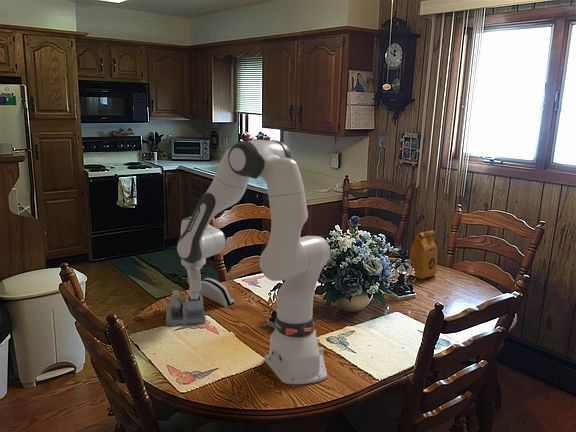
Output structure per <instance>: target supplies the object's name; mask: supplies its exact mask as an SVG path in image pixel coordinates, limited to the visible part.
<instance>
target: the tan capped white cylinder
mask: <svg viewBox="0 0 576 432" xmlns="http://www.w3.org/2000/svg"><path fill="white" fill-rule="evenodd" d="M186 280H187V284H188V285H190V284H189V276H188V275H187V279H186ZM198 295H199V291H198V292H197V297H196V298H193V297H192V292H191V290H190V289H189V296H190V301H196V300H199V296H198Z"/></svg>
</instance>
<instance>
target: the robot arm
mask: <svg viewBox="0 0 576 432" xmlns="http://www.w3.org/2000/svg"><path fill="white" fill-rule="evenodd" d="M301 174H302V173H301V171H300V168H299V166H298V163H297V162H296V161H295V160H294V159H292V154H291V151H290V148H289V147H288V145H286V143H285V142H282V141H279V140H268V139H267V140H266V139H265V140H264V139H253V140H243V141H239V142H237V143H235V144H233V145H232V146H231V147H229V148H228V149H226V151H225V153H224V154H223V156H222V158H221V160H220V162H219V164H218V166H217V169H216V171H215V175H214V176H213V177H214V178H213V179H212V182H211V183H210V185H209V187H208V189H206V192H204V194H203V195H202V196H201V198H199V201H198V203H197V204H196V207H195V209H194V211H193V213H192V215H190V216H188V217H184V218H183V219H182V221H181V225H180V236H179V238H178V240H177V242H176V253H177V255H178V256H179V258H180V261H181V266H183V267H184V268H185V270H186V271H187V276H189V284H188V285H189V291H190V290H191V292H192V297H193V298H196V297H197V292H198V293H199V292H201V281H202V279H201V275H202V274H201V269H203V266H204V265H206V263H207V262H206V261H207V258H210V257H212V256H216V255H218V254H221V253H223V252H224V250H225V249H226V246H227V239H226V235H225V233H224V232H223V231H222V230H221V229H220V228H217V227H215V226H213V225H211V224H210V222H211V221H212V219H213V218H214V217H215V216H217V215H218V214H219V213H221V212H222V211H224V210H226V209H228V208H230V207H232V206H234V205H235V204H237V203H238V202H240V200H242V197H243V196H244V194H245V192H246V190H247V187H248V183H249V181H250V180H251V179H254V180H257V179H258V178H259V177H260V178H262V179H263V180H264V182H265V184H266V188H267V189H266V190H267V196H268V202H269V209H270V220H271V221H270V222H271V227H270V235H269V239H268V242H267V244H266V247H265V248H264V250H263V251H262V252H261V255H260V256H259V257H260V258H259V267H260V270H261V273H262V275H263V276H264V277H266V279H267V280H270V281H273V282H276V281H277V282H279V281H284V282H283V284H282V285H281V286H280V288H279V290H278V292H277V295H276V303H277V304H276V315H275V318H274V323H275V324H274V327H275V329H274V331H273V332H272V333H271V334H270V339H269V340H270V341H269V353H268V354H266V355H265V356H264V359H263V360H264V362H265V363H266V365H267V366H268V367H269V368H270V369H271V371H273V372H274V374H275V375H276V376H277V378H278V379H279V380H280V381H281V382H282V383H284V384H287V385H306V384H307V385H308V384H314V383H319V382H321V381H324V380H325V379H327V378H328V372H327V368H326V365H325V364H326V363H325V359H324V353H325V350H324V347H321V346H319V343H320V338H319V337H317V334H316V333H317V330H316V329H315V320H314V315H313V307H314V305H313V304H314V294H315V291H316V286H317V283H318V280H319V277H320V275H321V272H322V270H323V268H324V267H325V265H326V264H327V263H328V261H329V259H330V256H331V248H330V246H329V243H328V242H327V240H326V239H325V238H323V237H321V236H319V235H305V236H301V233H302V229H303V226H304V224H305V223H307V221H308V218H309V211H308V205H307V199H306V193H305V187H304V186H305V185H304V181H303V178H302V175H301ZM250 178H251V179H250Z"/></svg>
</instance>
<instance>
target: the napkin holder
mask: <svg viewBox="0 0 576 432" xmlns="http://www.w3.org/2000/svg"><path fill="white" fill-rule="evenodd" d="M200 293H201V295H202V297H206V298H207V299H209V300H212V301H213V302H215V303H217V304H219V305H221V306H223V307H225V308H226V307H229V304H230V305H231V304H234V305H235V304H236V302H235V299H233V298H232V297H231V295H230V293H229V291H228V288H227V287H226V286H225V285H224V284H222V283H221V282H219V281H218V280H216V279H214V278H210V277H206V278H203V279H202V280H201V291H200Z"/></svg>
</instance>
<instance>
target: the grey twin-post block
mask: <svg viewBox="0 0 576 432" xmlns="http://www.w3.org/2000/svg"><path fill="white" fill-rule="evenodd" d="M198 296H199V300H196V301H190V295H186V296H185V303H184V302H183V300H184V299H183V295H181V294H180V290H179V289H178V290H177V289H176V290H172V296H170V305H165V322H166V327H174V326H173V325H177V326H184V325H183V324H188V325H198V324H207V320H206V319H207V318H206V313H205V309H204V298H203V295H202V294H198ZM197 323H198V324H197Z"/></svg>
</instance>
